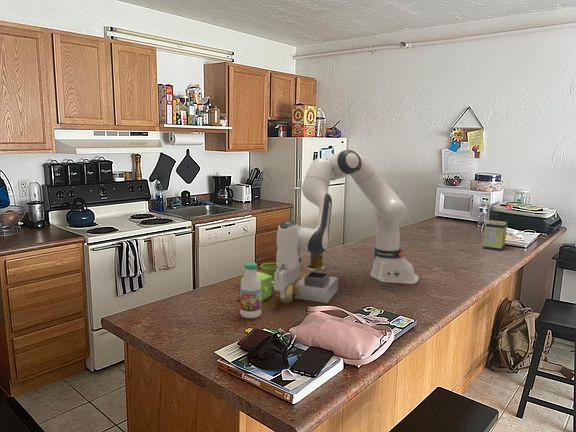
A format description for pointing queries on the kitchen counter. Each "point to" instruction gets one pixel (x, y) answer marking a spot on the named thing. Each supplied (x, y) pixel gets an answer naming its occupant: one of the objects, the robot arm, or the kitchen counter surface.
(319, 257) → the condiment
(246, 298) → the milk bottle
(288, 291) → the tan cylinder
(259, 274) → the green teapot
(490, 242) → the protein box
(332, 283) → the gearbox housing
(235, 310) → the kitchen counter surface
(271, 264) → the plant pot
